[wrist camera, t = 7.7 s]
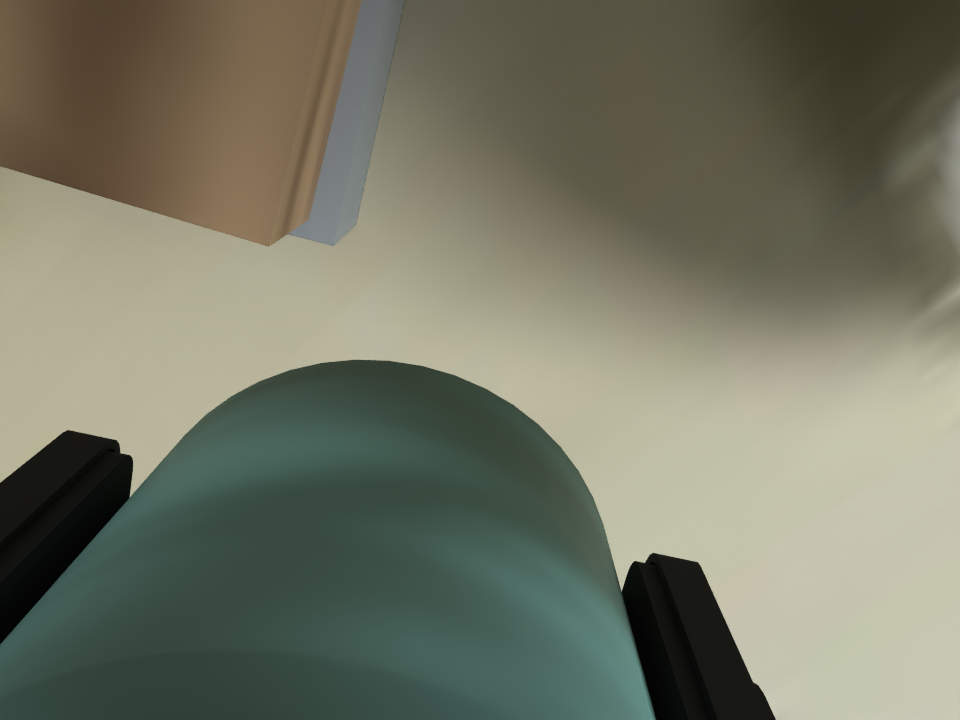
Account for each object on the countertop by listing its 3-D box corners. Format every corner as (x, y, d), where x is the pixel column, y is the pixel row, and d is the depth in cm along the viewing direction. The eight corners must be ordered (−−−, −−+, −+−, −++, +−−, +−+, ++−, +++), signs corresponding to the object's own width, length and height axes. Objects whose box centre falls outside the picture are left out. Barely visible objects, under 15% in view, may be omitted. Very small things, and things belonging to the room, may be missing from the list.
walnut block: (390, -117, 22) (364, -167, 18) (308, 219, 25) (268, 246, 21) (42, -233, 22) (-71, -313, 17) (-4, 125, 24) (-112, 132, 20)
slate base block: (426, -95, 26) (413, -131, 22) (357, 223, 29) (333, 245, 25) (101, -188, 26) (22, -243, 22) (63, 145, 29) (-13, 155, 24)
